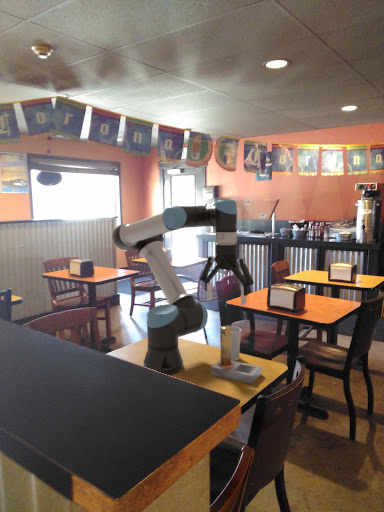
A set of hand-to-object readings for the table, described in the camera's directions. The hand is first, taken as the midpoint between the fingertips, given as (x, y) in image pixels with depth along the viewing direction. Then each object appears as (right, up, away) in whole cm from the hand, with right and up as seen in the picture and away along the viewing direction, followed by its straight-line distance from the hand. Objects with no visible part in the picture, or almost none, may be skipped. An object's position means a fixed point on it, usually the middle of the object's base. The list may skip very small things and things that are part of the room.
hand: (226, 302), depth 142 cm
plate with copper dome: (+4, -27, +1) cm, 27 cm away
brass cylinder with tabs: (0, -23, +3) cm, 24 cm away
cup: (+4, -25, +17) cm, 30 cm away
